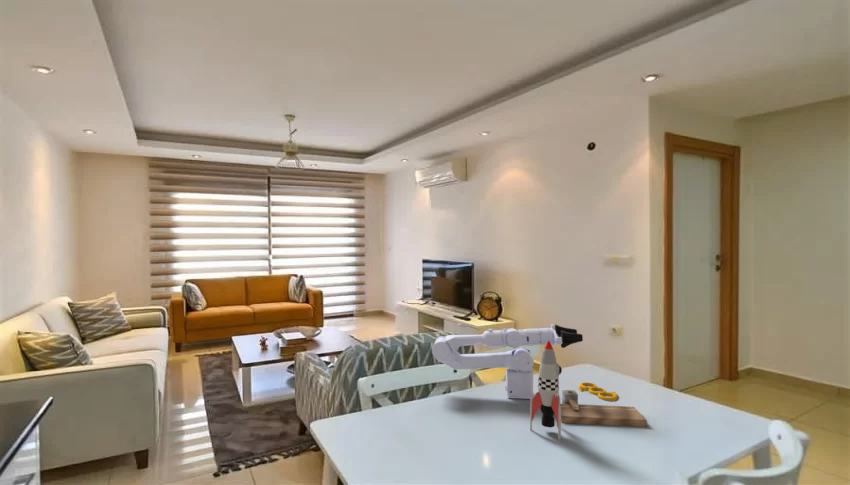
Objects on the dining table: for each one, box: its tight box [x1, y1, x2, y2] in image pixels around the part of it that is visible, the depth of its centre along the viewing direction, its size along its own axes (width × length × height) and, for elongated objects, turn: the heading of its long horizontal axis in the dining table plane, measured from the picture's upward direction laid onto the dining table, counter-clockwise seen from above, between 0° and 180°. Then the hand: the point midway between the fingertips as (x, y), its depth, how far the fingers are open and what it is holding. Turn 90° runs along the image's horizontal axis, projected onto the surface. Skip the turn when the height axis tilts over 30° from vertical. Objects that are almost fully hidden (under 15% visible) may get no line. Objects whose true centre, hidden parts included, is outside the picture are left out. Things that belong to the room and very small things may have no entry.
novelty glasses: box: [578, 382, 618, 402], centre depth 156 cm, size 17×2×10 cm
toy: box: [529, 325, 563, 441], centre depth 124 cm, size 9×8×30 cm
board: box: [560, 403, 648, 428], centre depth 134 cm, size 24×10×2 cm, turn 84°
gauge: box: [561, 389, 579, 410], centre depth 139 cm, size 4×10×6 cm, turn 174°
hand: (579, 335), depth 151 cm, fingers open, 7 cm apart
